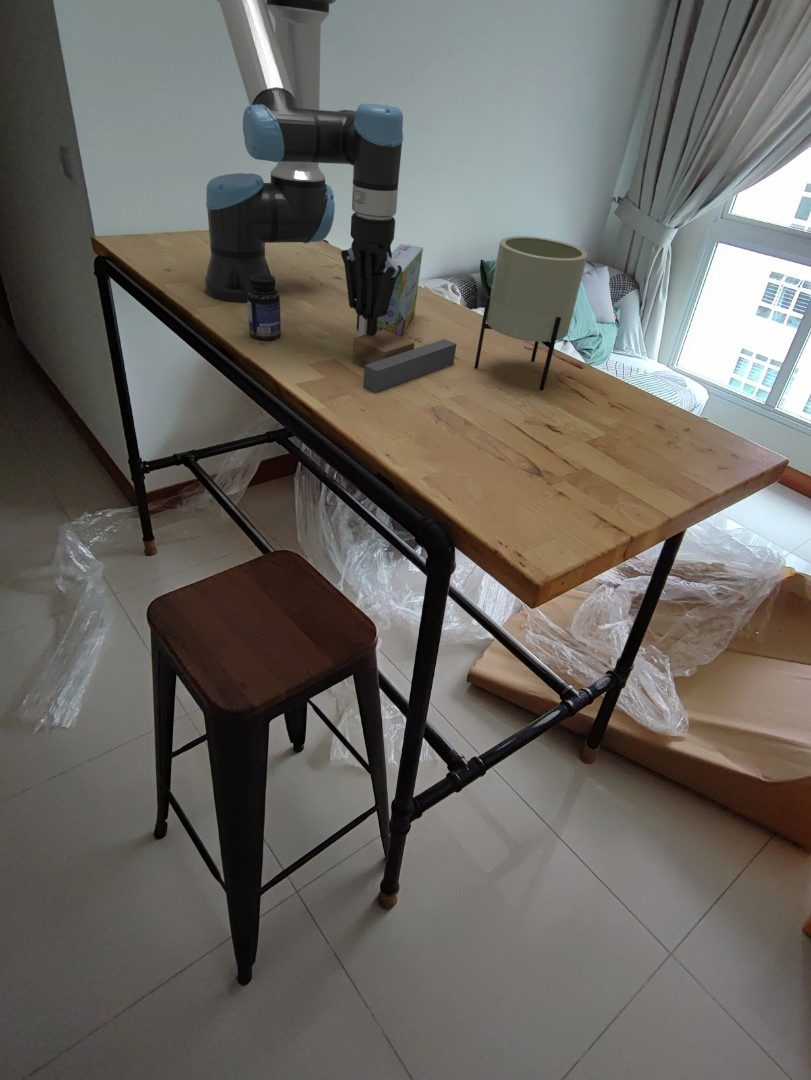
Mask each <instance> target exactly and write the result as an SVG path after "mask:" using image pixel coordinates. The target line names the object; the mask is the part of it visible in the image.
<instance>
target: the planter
mask: <svg viewBox="0 0 811 1080" xmlns="http://www.w3.org/2000/svg"><path fill="white" fill-rule="evenodd" d="M587 259H588V253H587V251H586V250H585V249H583V248H581V247H580V246H576V245H575V244H574V245H573V244H571V243H568V242H564V241H562V240H561V241H560V240H556V239H552V238H546V237H545V238H544V237H538V236H526V235H525V236H522V235H521V236H519V235H518V236H507V237H505V238H502V239H501V240H500V241H499V246H498V251H497V256H496V264H495V268H494V273H493V279H492V284H491V285H492V286H491V290H490V296H486V298H485V305H484V311H483V314H482V315H483V316H482V320H481V321H482V322H481V327H480V332H479V338H478V344H477V351H476V357H475V361H474V369H477V370H478V369H479V365H480V358H481V353H482V346H483V343H484V342H483V341H484V334H485V330H487V329H488V330H494V331H495V332H498V333H499V334H501V335H504V336H507V337H509V338H513V339H517V340H523V341H526V342H527V341H529V342H534V344H533V350H532V354H531V358H530V362H532V363H534V362H535V360H536V356H537V352H538V348H539V343H541V344H542V345H545V346H546V347H547V348H548V351H547V355H546V360H545V364H544V368H543V372H542V375H541V381H540V385H539V389H538V390H540V391H542V392H543V391H544V389H545V385H546V383H547V378H548V373H549V369H550V365H551V361H552V357H553V354H554V349H555V347H556V346H555V345H556V341H560V340H562V339H564V338H565V337H567V336H568V333H569V330H570V326H571V322H572V318H573V313H574V311H575V307H576V303H577V299H578V298H577V297H578V295H579V290H580V287H581V282H582V278H583V275H584V272H585V271H584V270H585V267H586V263H587Z"/></svg>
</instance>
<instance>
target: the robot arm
mask: <svg viewBox="0 0 811 1080" xmlns="http://www.w3.org/2000/svg"><path fill="white" fill-rule="evenodd" d="M216 1H217V2H218V3H219V5H220V9H221V12H222V16H223V19H224V22H225V26H226V29H227V32H228V37H229V41H230V43H231V47H232V49H233V54H234V57H235V59H236V64H237V67H238V70H239V73H240V76H241V80H242V83H243V87H244V90H245V94H246V98H247V100H248V104H249V105H248V106H246V107H245V109H244V111H243V116H242V133H243V138H244V139H243V141H244V145H245V149H246V151H247V154H248V155H249V156H250V157H251V158H253V159H255V160H257V161H258V160H261V161H268V162H273V163H277V164H276V165H275V167H274V168H272V170H271V171H270V182H264V180H263V177H262V176H261V175H260V174H257V173H256V174H255V173H251V172H250V173H244V172H241V173H239V172H238V173H237V172H235V173H229V174H223V175H222V174H221V175H219V176H216V177H214V178H212V179H210V180H209V181H208V182H207V185H206V196H205V197H206V198H205V199H206V203H205V207H206V209H207V220H208V221H207V222H208V232H209V235H208V236H209V245H210V258H209V263H208V267H207V271H206V272H207V273H206V277H205V280H204V282H205V283H204V284H205V292H206V293H207V294H208V295H209V296H211V297H212V298H215V299H219V300H222V301H226V302H227V301H228V302H233V303H234V302H236V303H248V300H247V293H248V291H249V290H250V289H252V286H251V284H250V277H251V276H253V275H270V276H272V273H271V270H270V268H269V265H268V262H267V259H266V247H265V246H266V243H268V244H269V243H270V244H271V243H272V244H274V243H303V244H309V243H314V242H316V243H317V242H321V241H324V240H325V239H326V238H327V237H328V235H329V234H330V232H331V229H332V226H333V223H334V219H335V208H336V207H335V205H336V204H335V200H334V198H335V197H334V191H333V189H332V187H331V186H330V185H328V184H327V183H326V176H325V174H324V173H323V171H321V169H320V168H319V164H335V165H339V164H341V165H351V166H352V167H353V168H352V169H353V170H352V171H353V173H352V175H353V176H352V199H351V210H352V211H353V212H354V213H353V214H352V215H350V217H351V219H350V220H351V221H350V237H351V238H352V239H353V240H352V243H351V247H349V248H348V249H344V250H341V251H340V255H341V258H342V261H343V264H344V272H345V280H346V287H347V288H346V289H347V290H346V291H347V297H348V298H347V299H348V306H349V308H351V309H354V310H355V313H356V314H357V315H356V316H357V317H356V330H357V331H358V336H357V337H359V336H363V335H366V334H367V335H370V336H371V335H374V334H376V331H377V319H378V317H382V316H385V315H386V314H387V311H388V308H389V304H390V300H391V297H392V293H393V289H394V286H395V282H396V279H397V277H398V276H399V274H400V273H401V271H402V268H401V266H400V265H397V266H396V265H395V263H394V262H393V260H392V259H391V258H392V249H391V247H392V246H391V245H392V243H393V241H394V239H395V230H396V218H395V217H394V216H396V214H397V207H398V195H399V193H398V191H399V179H400V170H401V161H402V160H401V159H402V158H401V157H402V148H403V141H404V131H403V124H404V115H403V112H402V110H401V109H400V108H398V107H397V106H396V107H395V106H389V105H386V104H385V105H384V104H378V103H377V104H376V103H360V104H359V105H358V106H357V108H356V110H354V109H351V110H348V109H340V110H323V109H320V97H321V96H320V95H321V94H320V87H321V86H320V85H321V84H320V83H321V81H320V80H321V79H320V78H321V77H320V76H321V31H322V30H321V28H322V27H321V26H322V23H323V22H324V21H325V20H326V19H327V18H328V17H329V15H330V5H332V4H334V3H335V2H337V0H216ZM270 14H271V15H272V17H273V19H274V23H275V25H274V26H273V22H272V19H271V15H270ZM385 267H386V268H385Z"/></svg>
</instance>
